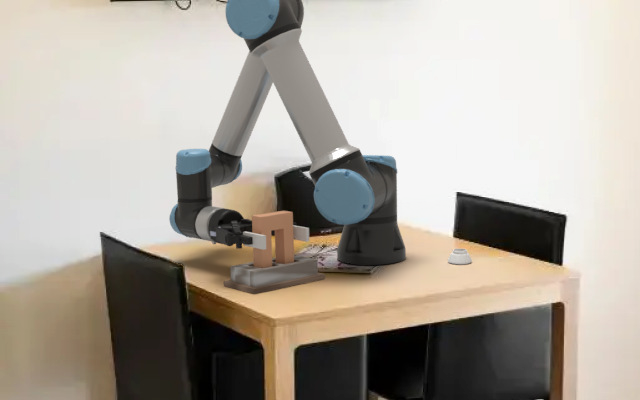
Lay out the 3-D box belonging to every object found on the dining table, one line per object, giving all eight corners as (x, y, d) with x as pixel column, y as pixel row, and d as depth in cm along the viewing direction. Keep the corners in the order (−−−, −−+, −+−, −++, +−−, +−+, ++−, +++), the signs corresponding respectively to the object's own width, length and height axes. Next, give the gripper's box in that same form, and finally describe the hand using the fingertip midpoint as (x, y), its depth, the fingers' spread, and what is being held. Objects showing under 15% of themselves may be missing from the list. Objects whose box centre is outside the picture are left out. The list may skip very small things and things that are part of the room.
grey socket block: (223, 285, 213) (223, 266, 212) (293, 271, 224) (293, 253, 224) (254, 294, 205) (253, 273, 205) (324, 278, 217) (324, 259, 216)
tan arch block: (254, 279, 213) (251, 215, 211) (285, 273, 218) (283, 210, 216) (263, 281, 211) (261, 217, 209) (294, 275, 216) (292, 212, 214)
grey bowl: (443, 262, 231) (455, 266, 226) (443, 248, 230) (455, 253, 226) (464, 260, 232) (475, 264, 228) (464, 246, 232) (475, 250, 227)
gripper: (264, 235, 235) (330, 248, 218) (176, 250, 220) (240, 266, 203) (263, 202, 234) (329, 212, 217) (175, 215, 219) (239, 227, 202)
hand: (286, 238), depth 210 cm, fingers open, 10 cm apart
